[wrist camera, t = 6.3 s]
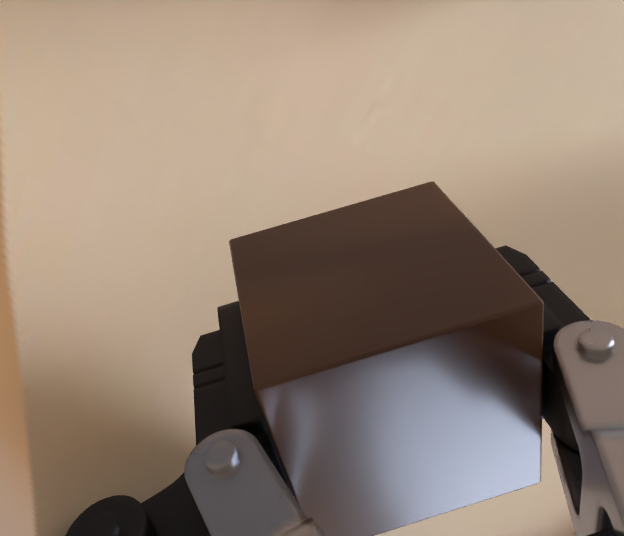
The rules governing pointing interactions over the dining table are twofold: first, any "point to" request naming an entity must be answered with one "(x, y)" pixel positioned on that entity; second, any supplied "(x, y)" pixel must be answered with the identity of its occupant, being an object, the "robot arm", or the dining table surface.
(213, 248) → the dining table surface
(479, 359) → the block
